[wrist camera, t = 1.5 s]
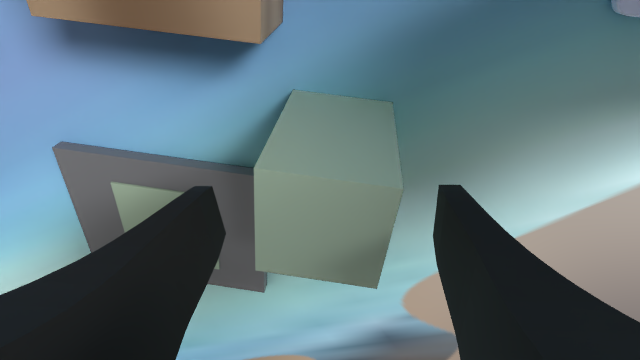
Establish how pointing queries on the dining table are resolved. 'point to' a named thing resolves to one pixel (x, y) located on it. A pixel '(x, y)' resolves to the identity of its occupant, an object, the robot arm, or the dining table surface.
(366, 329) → the dining table surface
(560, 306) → the robot arm
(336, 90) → the dining table surface
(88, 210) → the card
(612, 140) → the dining table surface
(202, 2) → the walnut slab
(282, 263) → the sage block
